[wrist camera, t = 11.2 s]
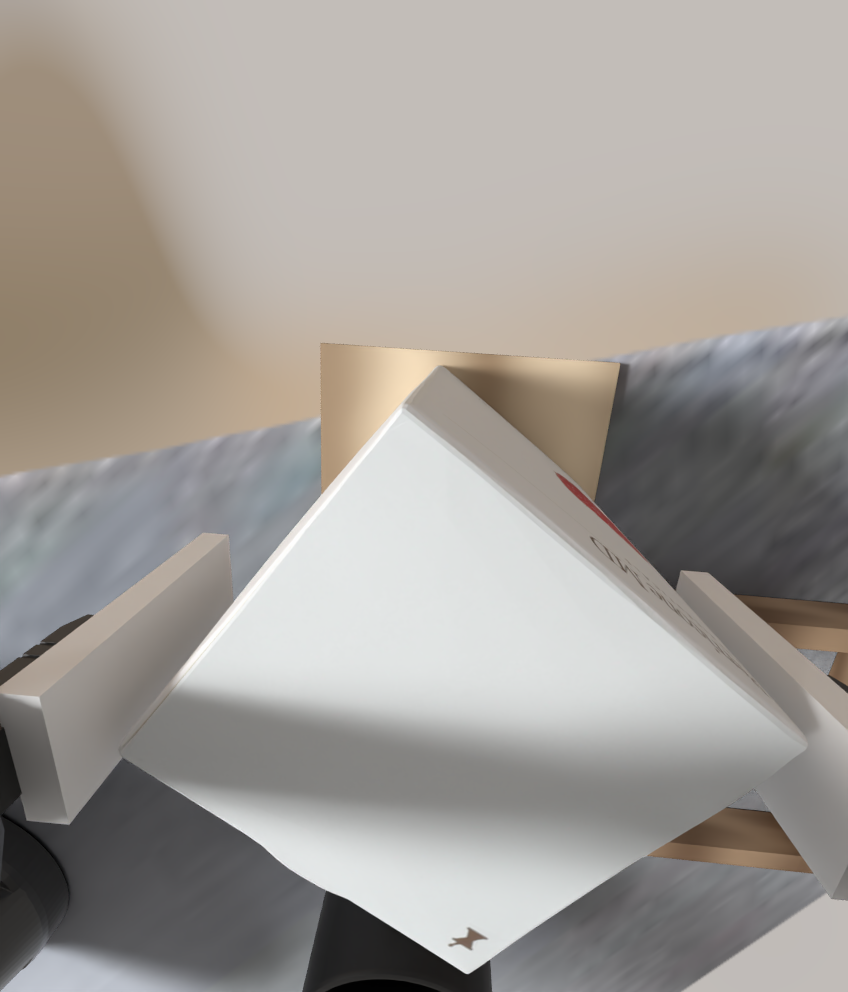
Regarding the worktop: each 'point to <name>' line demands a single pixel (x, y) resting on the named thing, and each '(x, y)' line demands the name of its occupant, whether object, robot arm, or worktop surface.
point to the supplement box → (460, 691)
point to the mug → (378, 957)
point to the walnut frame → (758, 832)
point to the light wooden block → (494, 378)
